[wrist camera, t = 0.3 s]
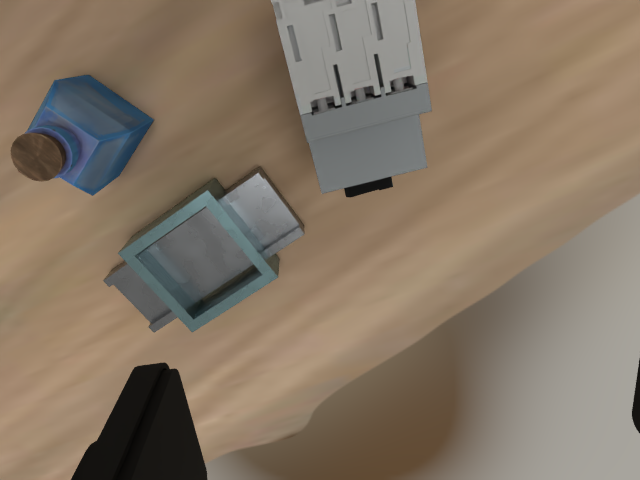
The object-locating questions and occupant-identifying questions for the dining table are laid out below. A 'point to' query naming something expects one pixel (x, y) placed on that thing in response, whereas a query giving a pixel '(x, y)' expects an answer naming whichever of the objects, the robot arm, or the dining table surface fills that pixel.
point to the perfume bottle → (80, 135)
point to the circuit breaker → (357, 88)
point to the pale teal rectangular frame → (207, 252)
